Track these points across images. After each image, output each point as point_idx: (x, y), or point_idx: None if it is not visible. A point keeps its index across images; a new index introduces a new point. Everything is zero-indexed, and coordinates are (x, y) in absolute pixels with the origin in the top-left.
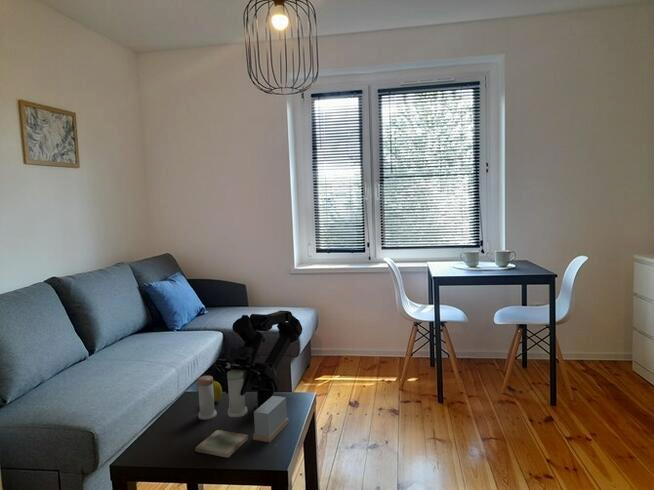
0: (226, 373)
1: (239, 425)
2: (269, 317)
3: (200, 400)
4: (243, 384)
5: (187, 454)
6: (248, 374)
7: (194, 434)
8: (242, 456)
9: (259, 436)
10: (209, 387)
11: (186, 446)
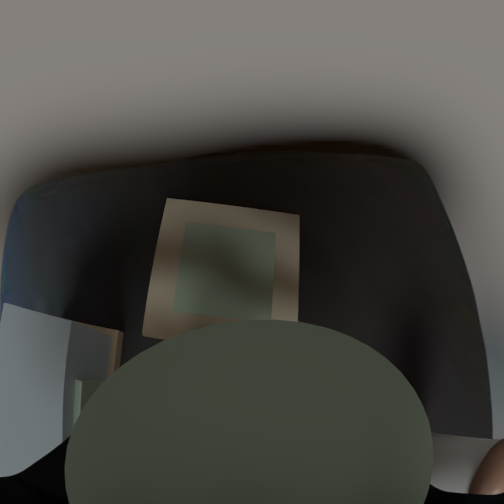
0: (439, 499)
1: None
2: None
3: (452, 435)
4: None
5: (308, 205)
6: (21, 499)
7: (368, 322)
8: (124, 220)
9: (92, 326)
10: (464, 471)
11: (342, 245)
